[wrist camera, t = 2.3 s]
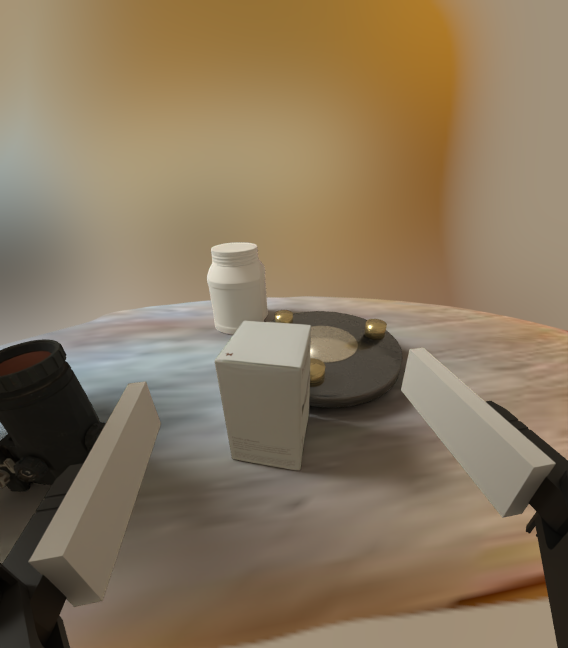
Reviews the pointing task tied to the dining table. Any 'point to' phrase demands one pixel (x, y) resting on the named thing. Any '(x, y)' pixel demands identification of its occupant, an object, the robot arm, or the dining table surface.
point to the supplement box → (266, 392)
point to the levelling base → (347, 357)
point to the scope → (42, 415)
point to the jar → (236, 286)
